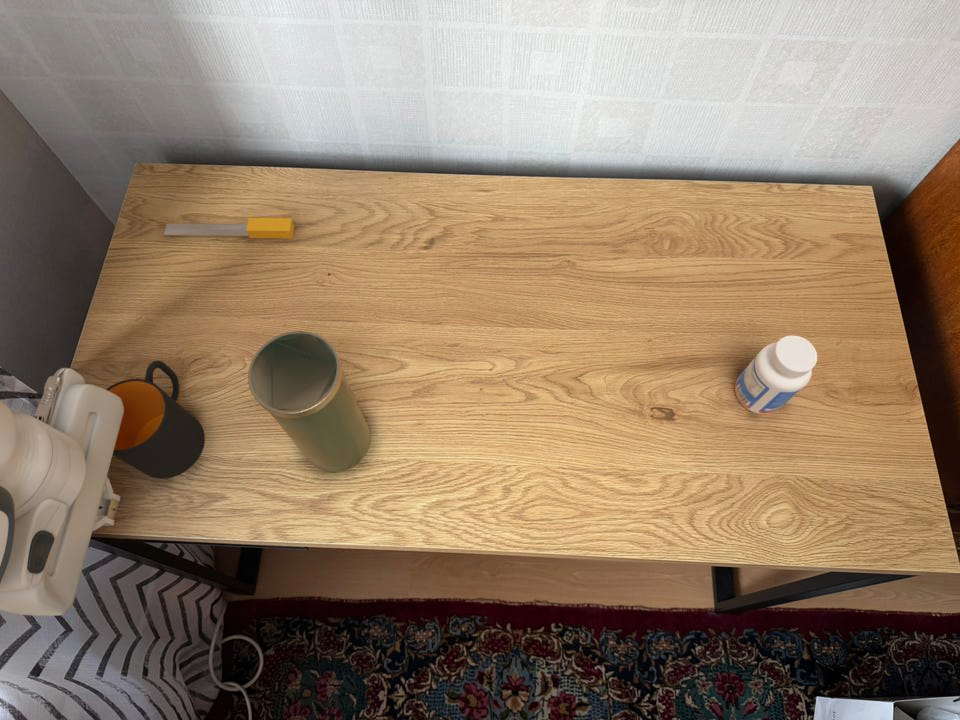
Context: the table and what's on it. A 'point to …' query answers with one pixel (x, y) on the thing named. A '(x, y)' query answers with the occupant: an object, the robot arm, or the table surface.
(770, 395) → the pill bottle
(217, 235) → the knife
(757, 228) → the table surface
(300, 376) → the canister
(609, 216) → the table surface
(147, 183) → the table surface
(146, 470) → the mug
